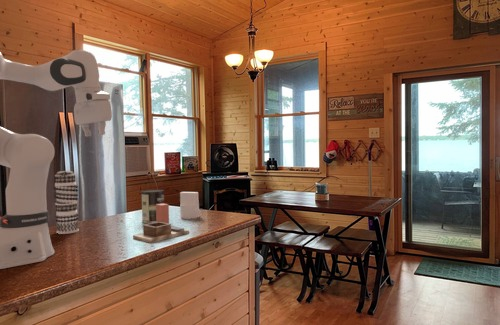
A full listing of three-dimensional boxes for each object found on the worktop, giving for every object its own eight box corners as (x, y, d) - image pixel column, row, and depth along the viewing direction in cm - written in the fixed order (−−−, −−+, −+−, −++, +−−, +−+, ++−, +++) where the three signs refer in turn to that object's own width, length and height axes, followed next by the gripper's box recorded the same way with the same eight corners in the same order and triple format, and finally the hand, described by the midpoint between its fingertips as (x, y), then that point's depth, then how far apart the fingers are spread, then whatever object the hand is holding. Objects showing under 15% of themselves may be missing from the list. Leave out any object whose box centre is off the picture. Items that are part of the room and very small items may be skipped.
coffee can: (168, 218, 177) (167, 189, 176) (159, 223, 167) (158, 192, 166) (148, 218, 179) (147, 189, 178) (138, 222, 169) (136, 192, 168)
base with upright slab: (176, 218, 178) (176, 193, 178) (187, 214, 187) (186, 191, 186) (193, 219, 175) (192, 193, 174) (202, 215, 183) (201, 191, 183)
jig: (150, 242, 133) (150, 229, 133) (133, 238, 140) (132, 226, 140) (189, 233, 147) (188, 221, 147) (171, 229, 154) (170, 218, 154)
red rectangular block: (162, 229, 155) (161, 205, 154) (156, 228, 157) (155, 204, 157) (169, 227, 157) (168, 204, 157) (163, 226, 160) (162, 203, 160)
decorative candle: (63, 235, 148) (60, 172, 147) (50, 232, 153) (47, 171, 152) (84, 230, 156) (81, 170, 155) (71, 228, 161) (69, 170, 160)
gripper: (66, 100, 138) (72, 137, 139) (95, 93, 125) (101, 134, 126) (83, 100, 143) (88, 136, 144) (112, 93, 130) (118, 133, 131)
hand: (95, 135), depth 135 cm, fingers open, 8 cm apart
